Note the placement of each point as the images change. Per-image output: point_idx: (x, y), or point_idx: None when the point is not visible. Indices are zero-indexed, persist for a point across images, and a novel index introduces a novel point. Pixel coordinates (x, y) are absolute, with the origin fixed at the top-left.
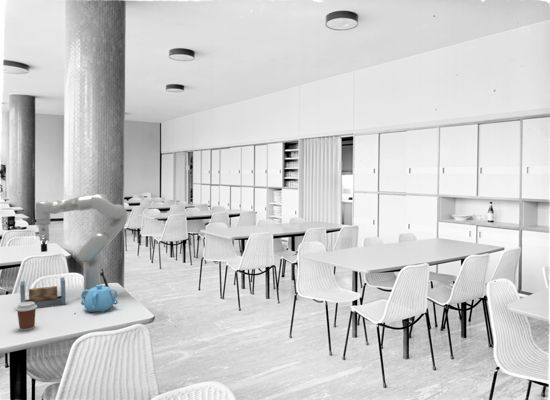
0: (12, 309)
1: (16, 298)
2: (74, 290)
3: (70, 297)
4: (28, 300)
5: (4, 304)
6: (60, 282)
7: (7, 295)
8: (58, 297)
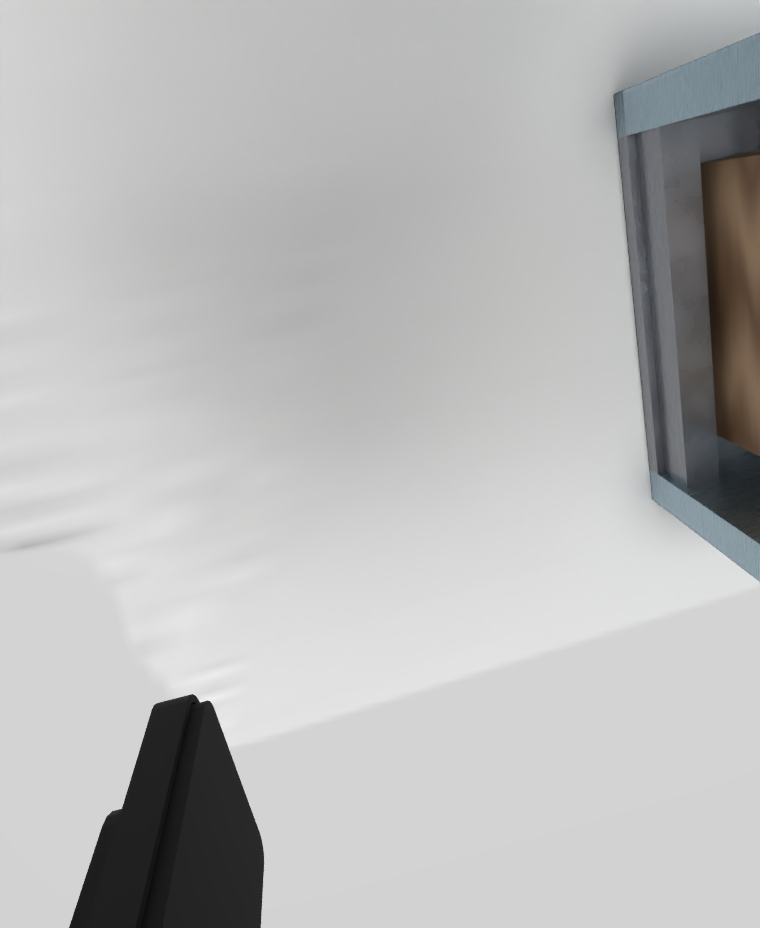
0: None
1: (350, 623)
2: (104, 44)
3: (471, 46)
4: (714, 452)
5: (537, 654)
6: (756, 99)
7: None
8: (693, 150)
